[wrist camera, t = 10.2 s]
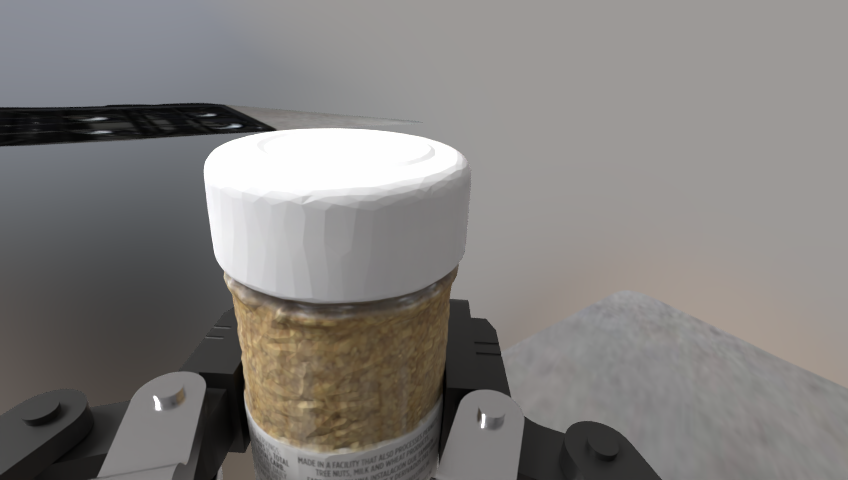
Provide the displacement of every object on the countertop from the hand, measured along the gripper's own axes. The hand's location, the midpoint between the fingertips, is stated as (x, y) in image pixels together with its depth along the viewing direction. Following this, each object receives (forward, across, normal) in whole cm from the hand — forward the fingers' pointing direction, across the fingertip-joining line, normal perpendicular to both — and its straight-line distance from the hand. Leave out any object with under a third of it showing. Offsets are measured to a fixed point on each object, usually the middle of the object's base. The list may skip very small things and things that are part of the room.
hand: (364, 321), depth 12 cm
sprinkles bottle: (-3, 0, +8) cm, 8 cm away
